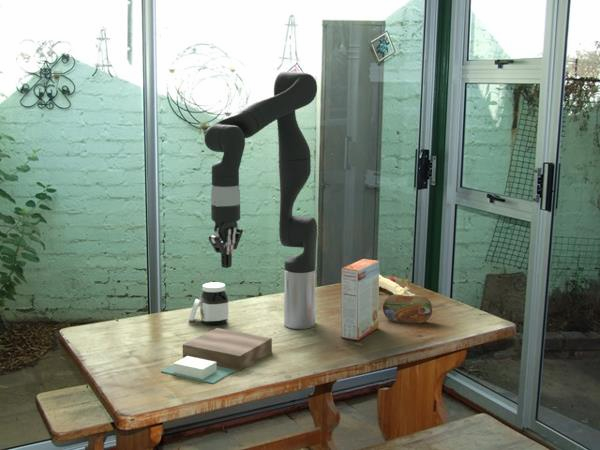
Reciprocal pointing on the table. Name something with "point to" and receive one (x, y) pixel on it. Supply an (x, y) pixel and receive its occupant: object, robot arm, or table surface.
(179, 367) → the tile
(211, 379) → the mat
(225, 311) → the spread jar
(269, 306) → the table surface
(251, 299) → the table surface
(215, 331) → the brown wooden board
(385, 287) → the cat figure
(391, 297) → the tin
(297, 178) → the robot arm
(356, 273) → the cracker box
